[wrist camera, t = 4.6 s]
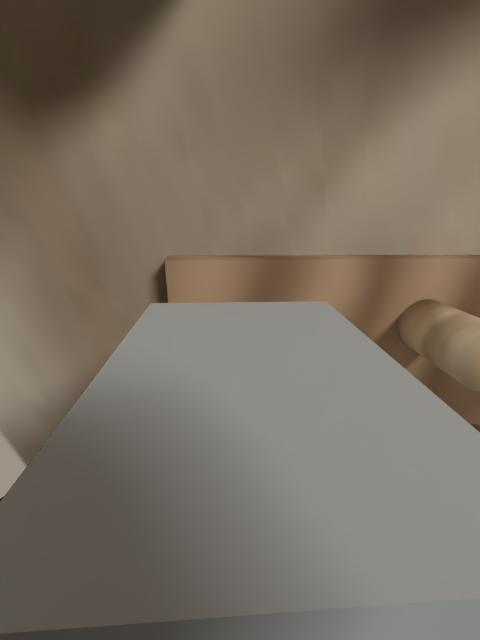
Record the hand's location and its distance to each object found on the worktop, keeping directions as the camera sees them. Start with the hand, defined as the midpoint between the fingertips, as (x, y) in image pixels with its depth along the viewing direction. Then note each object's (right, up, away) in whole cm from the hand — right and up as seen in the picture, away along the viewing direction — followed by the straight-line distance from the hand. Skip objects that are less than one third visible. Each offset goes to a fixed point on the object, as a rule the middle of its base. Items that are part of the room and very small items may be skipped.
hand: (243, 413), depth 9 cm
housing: (0, +1, +2) cm, 2 cm away
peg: (+11, +2, +10) cm, 15 cm away
